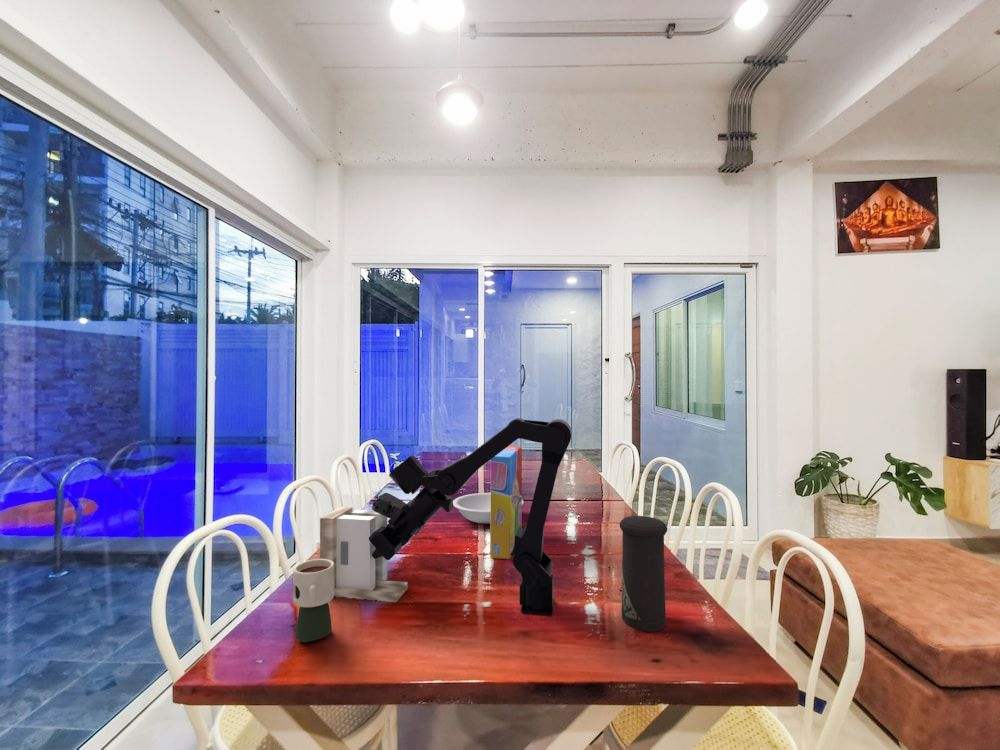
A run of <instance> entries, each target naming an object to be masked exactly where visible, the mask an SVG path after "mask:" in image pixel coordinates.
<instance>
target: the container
mask: <svg viewBox="0 0 1000 750" xmlns="http://www.w3.org/2000/svg"><path fill="white" fill-rule="evenodd" d="M619 528H620V530H621V531H622V541H621V542H622V543H621V544H622V547H621V548H622V555H621V556H622V557H621V559H622V561H621V565H622V566H621V609H620V610H621V611H620V612H621V619H622V621H623V622H624V623H625V624H626V625H627V626H629V627H631V628H633V629H635V630H637V631H642V632H658V631H661V630H663V629H664V628H665V627H666V624H667V615H666V613H667V612H666V584H665V583H666V581H665V580H666V579H665V575H666V574H665V535H666V534H667V533H668V526H667V524H666V523H665V522H664V521H663V520H661V519H658V518H655V517H651V516H646V515H645V516H644V515H630V516H626V517H624V518H622V519H621V520H620V522H619Z"/></svg>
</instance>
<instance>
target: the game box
mask: <svg viewBox="0 0 1000 750" xmlns="http://www.w3.org/2000/svg"><path fill="white" fill-rule="evenodd" d="M522 449H523V448H522V447H521V446H511V445H509V446H508V447H506V448H505V449H504V450H502V451H501V452H500V453H498V454H497V455H496V456H495V457H493V458H492V459H491V460H490V493H491V504H490V524H489V525H490V527H489V529H490V536H489V537H490V538H489V539H490V541H489V543H490V544H489V545H490V547H489V548H490V549H489V550H490V551H489V554H490V556H489V557H490V558H491V559H500V560H501V559H502V560H503V559H504V560H510V559H511V558H512V556H511V555H510V554H511V551H512V549H513V546H514V540H515V535H516V533H517V530H518V528H519V527H520V528H522V527H523V516H522V514H523V512H522V511H523V508H522V507H523V505H522V500H523V493H522V490H523V488H522V486H523V485H522V483H523V481H522V480H523V479H522V476H523V474H522V472H523V471H522V469H523V467H522V466H523V465H522V461H523V456H522V455H523V454H522V452H523V450H522ZM522 529H523V528H522Z"/></svg>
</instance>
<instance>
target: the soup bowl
mask: <svg viewBox="0 0 1000 750" xmlns="http://www.w3.org/2000/svg"><path fill="white" fill-rule="evenodd" d="M490 504H491V492H478V493H469V494H465V495H461V496H459V497H456V498H455V499H453V506H454V507H453V508H456V509H458V511H459V513H460V514H461V516H463V517H464V518H465V519H467V520H469V521H471V522H474V523H477V524H485V525H486V524H488V525H490ZM523 505H524V499H522V506H523Z"/></svg>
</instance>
